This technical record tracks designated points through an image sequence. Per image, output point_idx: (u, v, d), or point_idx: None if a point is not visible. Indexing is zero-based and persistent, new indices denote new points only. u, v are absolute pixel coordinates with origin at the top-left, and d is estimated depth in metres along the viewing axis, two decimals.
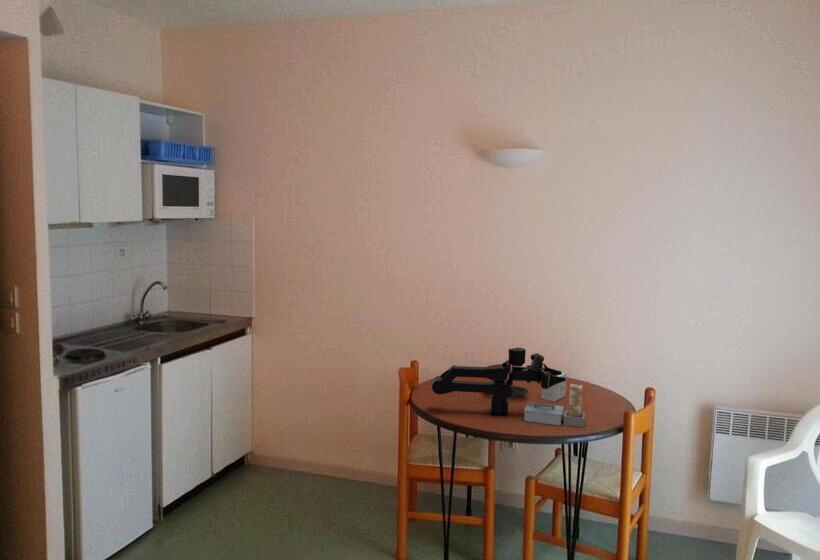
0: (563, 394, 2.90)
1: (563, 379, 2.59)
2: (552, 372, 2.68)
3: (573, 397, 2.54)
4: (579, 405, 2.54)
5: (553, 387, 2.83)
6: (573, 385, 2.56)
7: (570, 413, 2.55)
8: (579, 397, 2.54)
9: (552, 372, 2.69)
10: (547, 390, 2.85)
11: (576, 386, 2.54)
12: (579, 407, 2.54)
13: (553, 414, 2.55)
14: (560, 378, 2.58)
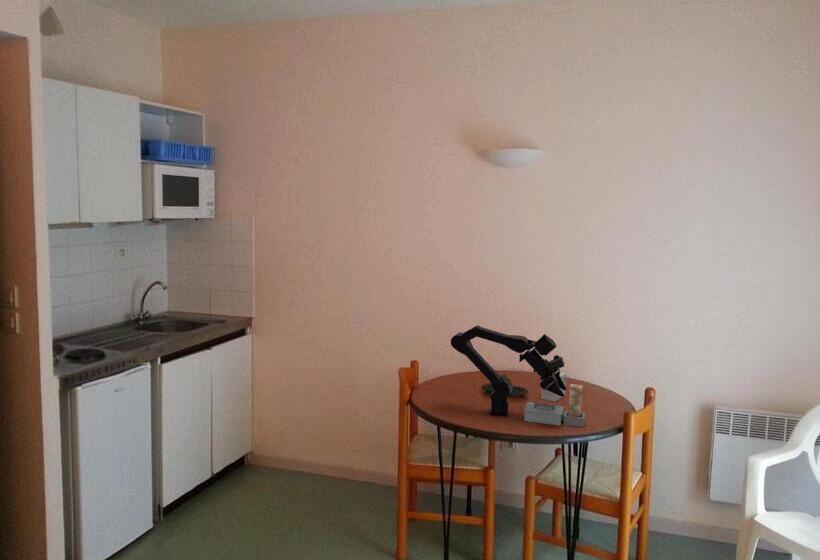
0: None
1: (561, 395, 2.53)
2: (559, 383, 2.62)
3: (573, 397, 2.54)
4: (579, 405, 2.54)
5: None
6: (573, 385, 2.56)
7: (570, 413, 2.55)
8: (579, 397, 2.54)
9: (559, 383, 2.63)
10: None
11: (576, 386, 2.54)
12: (579, 407, 2.54)
13: (553, 414, 2.55)
14: (560, 392, 2.52)
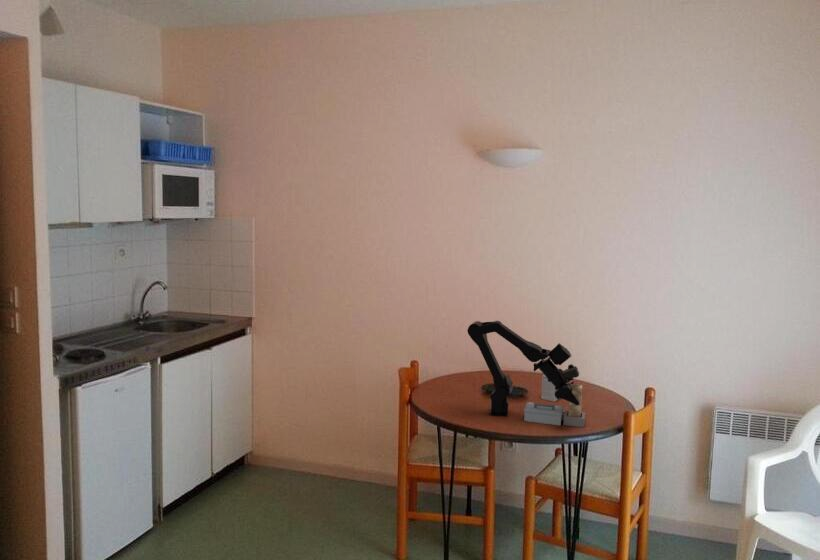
0: None
1: (577, 403, 2.54)
2: None
3: None
4: (579, 405, 2.54)
5: (553, 387, 2.83)
6: (573, 385, 2.56)
7: (570, 413, 2.55)
8: (579, 397, 2.54)
9: None
10: (547, 390, 2.85)
11: (576, 386, 2.54)
12: (579, 407, 2.54)
13: (553, 414, 2.55)
14: (575, 400, 2.53)
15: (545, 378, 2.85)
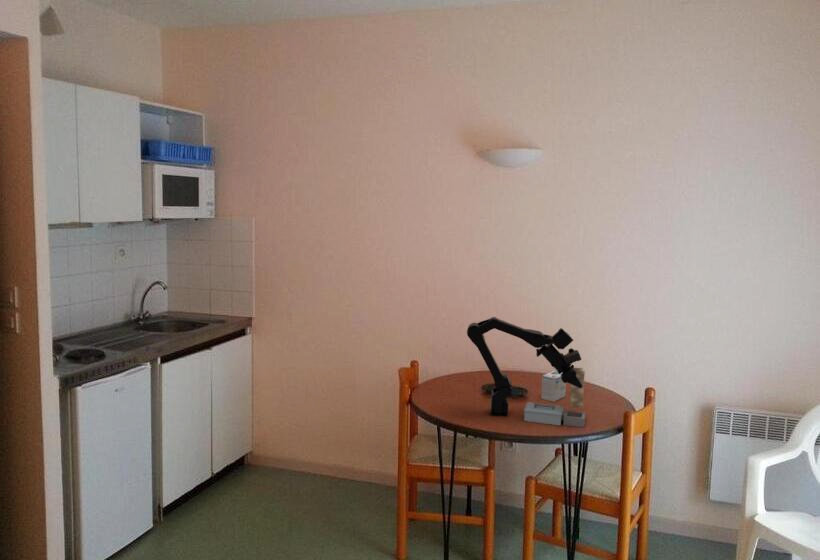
0: (563, 394, 2.90)
1: (580, 386, 2.59)
2: None
3: None
4: (582, 388, 2.59)
5: (553, 387, 2.83)
6: (575, 368, 2.61)
7: (573, 396, 2.60)
8: (582, 380, 2.59)
9: None
10: (547, 390, 2.85)
11: (578, 370, 2.59)
12: (582, 390, 2.59)
13: (553, 414, 2.55)
14: (579, 383, 2.58)
15: (545, 378, 2.85)
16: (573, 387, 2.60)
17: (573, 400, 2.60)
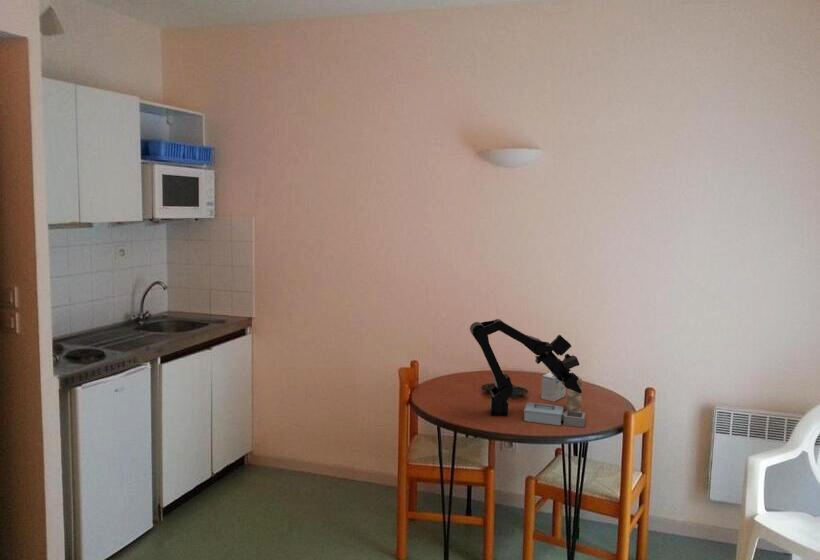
0: (563, 394, 2.90)
1: (580, 391, 2.64)
2: None
3: None
4: (580, 395, 2.66)
5: (553, 387, 2.83)
6: None
7: (572, 404, 2.67)
8: (580, 388, 2.66)
9: None
10: (547, 390, 2.85)
11: None
12: (580, 397, 2.66)
13: (553, 414, 2.55)
14: (579, 388, 2.63)
15: (545, 378, 2.85)
16: (571, 395, 2.66)
17: (572, 408, 2.67)
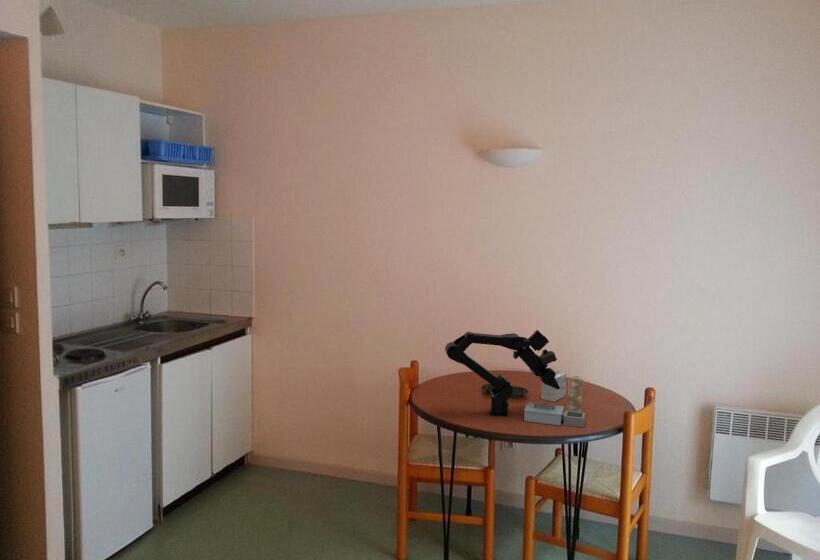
0: (563, 394, 2.90)
1: (558, 387, 2.62)
2: None
3: (575, 389, 2.66)
4: (580, 395, 2.66)
5: None
6: (572, 377, 2.68)
7: (572, 404, 2.67)
8: (580, 388, 2.66)
9: None
10: (547, 390, 2.85)
11: (576, 378, 2.66)
12: (580, 397, 2.66)
13: (553, 414, 2.55)
14: (557, 384, 2.62)
15: None
16: (572, 395, 2.66)
17: (572, 408, 2.67)
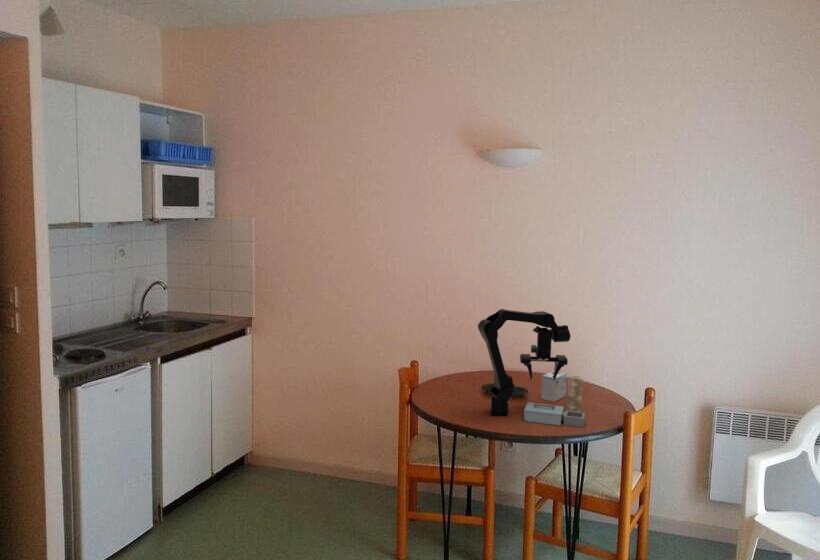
0: (563, 394, 2.90)
1: None
2: None
3: (575, 389, 2.66)
4: (580, 395, 2.66)
5: (553, 387, 2.83)
6: (572, 377, 2.68)
7: (572, 404, 2.67)
8: (580, 388, 2.66)
9: None
10: (547, 390, 2.85)
11: (576, 378, 2.66)
12: (580, 397, 2.66)
13: (553, 414, 2.55)
14: None
15: (545, 378, 2.85)
16: (572, 395, 2.66)
17: (572, 408, 2.67)
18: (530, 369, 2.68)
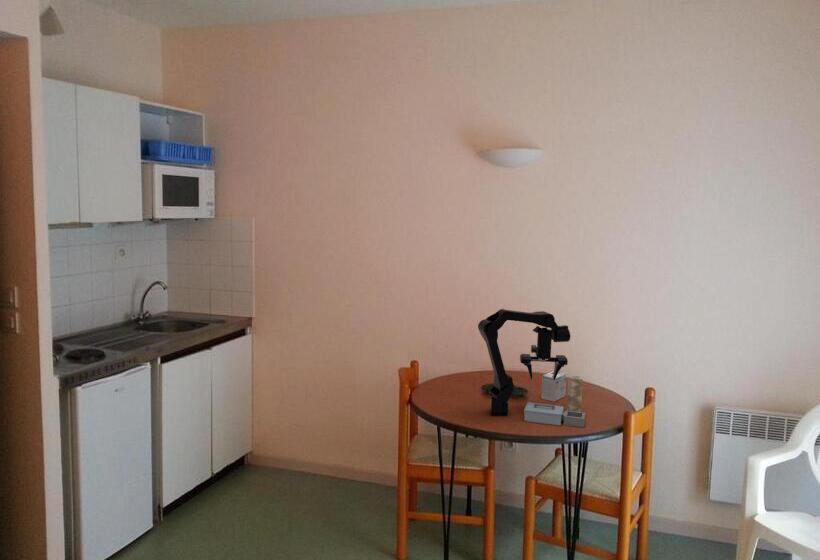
0: (563, 394, 2.90)
1: None
2: None
3: (575, 389, 2.66)
4: (580, 395, 2.66)
5: (553, 387, 2.83)
6: (572, 377, 2.68)
7: (572, 404, 2.67)
8: (580, 388, 2.66)
9: None
10: (547, 390, 2.85)
11: (576, 378, 2.66)
12: (580, 397, 2.66)
13: (553, 414, 2.55)
14: None
15: (545, 378, 2.85)
16: (572, 395, 2.66)
17: (572, 408, 2.67)
18: (530, 369, 2.68)
